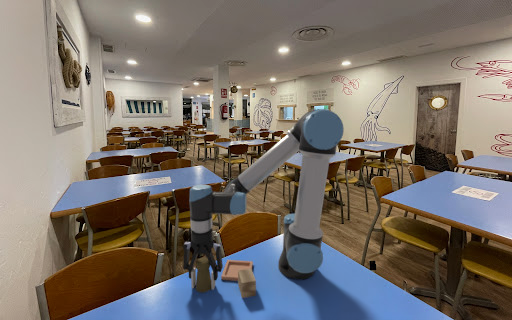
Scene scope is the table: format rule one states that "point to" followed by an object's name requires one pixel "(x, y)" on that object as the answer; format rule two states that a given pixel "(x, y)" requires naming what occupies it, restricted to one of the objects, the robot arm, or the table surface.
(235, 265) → the terracotta dish
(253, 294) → the oak block
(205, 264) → the cork
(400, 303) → the table surface
